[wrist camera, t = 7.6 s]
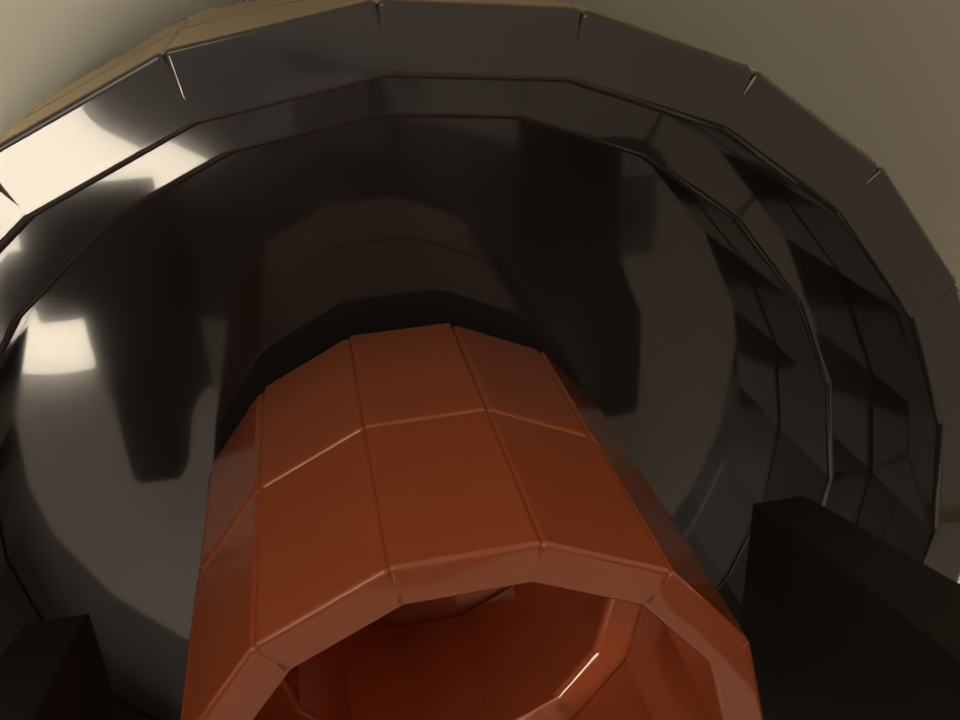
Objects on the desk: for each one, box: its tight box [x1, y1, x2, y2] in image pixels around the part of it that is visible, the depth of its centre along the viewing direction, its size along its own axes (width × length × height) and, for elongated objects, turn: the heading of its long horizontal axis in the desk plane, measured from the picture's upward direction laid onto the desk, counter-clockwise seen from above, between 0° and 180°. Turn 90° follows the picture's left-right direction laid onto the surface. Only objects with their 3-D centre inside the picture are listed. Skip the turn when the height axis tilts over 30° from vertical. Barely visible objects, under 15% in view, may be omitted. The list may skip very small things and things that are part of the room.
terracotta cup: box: [180, 323, 764, 720], centre depth 10 cm, size 5×5×5 cm
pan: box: [0, 0, 960, 720], centre depth 11 cm, size 13×13×3 cm
